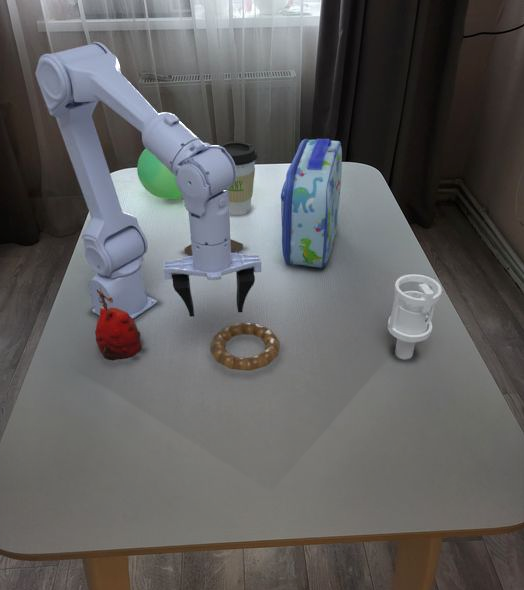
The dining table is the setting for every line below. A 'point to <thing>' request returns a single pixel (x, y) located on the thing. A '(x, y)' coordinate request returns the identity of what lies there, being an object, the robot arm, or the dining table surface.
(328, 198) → the lunch box
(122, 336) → the red rounded lump
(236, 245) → the post
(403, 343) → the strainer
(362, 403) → the dining table surface
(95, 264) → the robot arm
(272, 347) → the ring
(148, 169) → the toy bird
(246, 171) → the coffee cup
